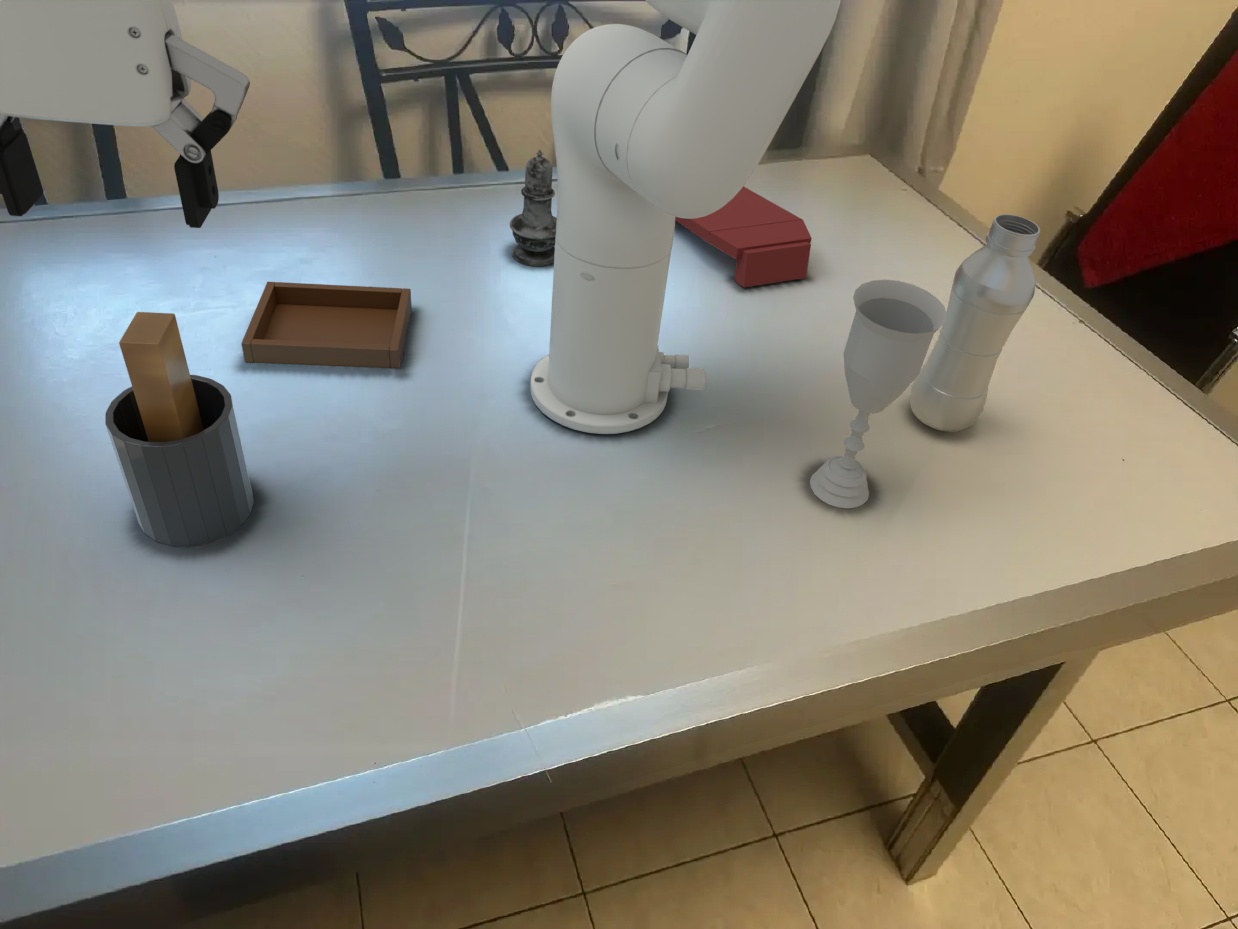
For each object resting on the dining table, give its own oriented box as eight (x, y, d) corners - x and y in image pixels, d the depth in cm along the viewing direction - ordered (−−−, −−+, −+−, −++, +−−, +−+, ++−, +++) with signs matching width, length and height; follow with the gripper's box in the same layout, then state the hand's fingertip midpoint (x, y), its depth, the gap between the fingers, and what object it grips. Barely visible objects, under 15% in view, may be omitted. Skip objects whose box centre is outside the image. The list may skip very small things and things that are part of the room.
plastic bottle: (925, 389, 93) (998, 198, 80) (987, 423, 90) (1073, 230, 77) (889, 414, 89) (959, 218, 76) (952, 451, 86) (1037, 253, 73)
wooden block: (219, 491, 73) (175, 312, 62) (207, 524, 70) (158, 344, 60) (187, 490, 73) (136, 311, 62) (173, 524, 70) (118, 342, 59)
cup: (264, 479, 75) (244, 376, 69) (240, 553, 69) (215, 448, 63) (159, 476, 74) (127, 371, 68) (125, 550, 68) (87, 444, 62)
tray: (411, 310, 95) (410, 288, 93) (399, 373, 87) (398, 350, 85) (271, 304, 94) (267, 281, 92) (245, 367, 86) (240, 343, 84)
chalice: (879, 525, 78) (950, 341, 66) (797, 508, 78) (852, 323, 67) (879, 468, 83) (944, 289, 71) (802, 452, 84) (853, 272, 72)
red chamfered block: (630, 217, 122) (727, 289, 103) (631, 179, 119) (732, 246, 101) (713, 207, 127) (820, 275, 108) (716, 170, 124) (827, 232, 105)
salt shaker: (572, 253, 107) (579, 149, 99) (541, 273, 103) (546, 167, 95) (529, 236, 109) (533, 133, 101) (498, 255, 105) (499, 149, 97)
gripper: (237, -122, 48) (280, 193, 60) (-129, -160, 47) (-14, 173, 58) (197, -89, 43) (252, 252, 54) (-223, -132, 41) (-75, 231, 52)
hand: (114, 211), depth 56 cm, fingers open, 9 cm apart
